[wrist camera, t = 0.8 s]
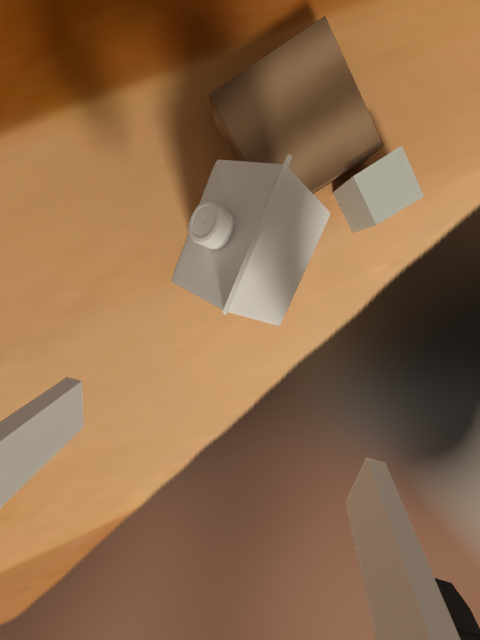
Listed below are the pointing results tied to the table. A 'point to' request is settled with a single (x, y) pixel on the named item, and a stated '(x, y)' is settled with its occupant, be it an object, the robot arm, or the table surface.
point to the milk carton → (251, 239)
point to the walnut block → (298, 110)
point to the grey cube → (378, 191)
